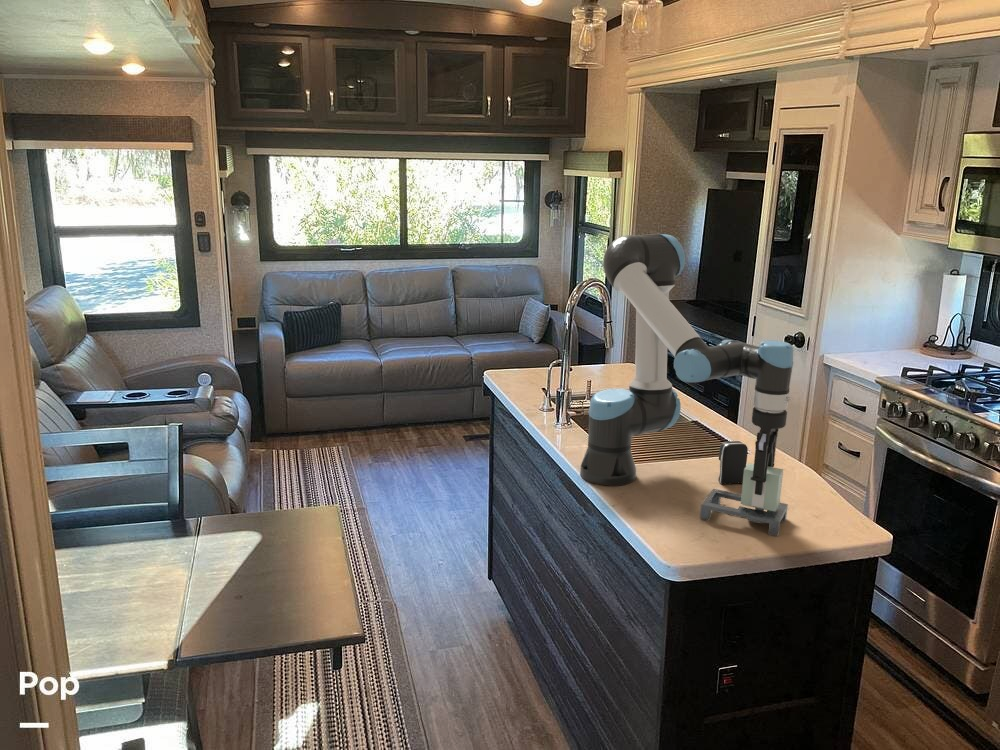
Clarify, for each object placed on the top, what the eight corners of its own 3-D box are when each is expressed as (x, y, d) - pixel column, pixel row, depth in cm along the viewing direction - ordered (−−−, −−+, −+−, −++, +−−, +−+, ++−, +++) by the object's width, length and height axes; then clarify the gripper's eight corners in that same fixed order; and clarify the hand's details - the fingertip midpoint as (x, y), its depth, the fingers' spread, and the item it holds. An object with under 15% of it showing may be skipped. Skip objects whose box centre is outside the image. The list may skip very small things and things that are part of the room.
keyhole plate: (699, 518, 189) (701, 504, 188) (712, 502, 199) (713, 488, 198) (777, 536, 181) (779, 521, 180) (786, 518, 190) (787, 504, 189)
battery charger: (738, 478, 214) (742, 439, 211) (745, 484, 211) (749, 443, 208) (714, 479, 213) (718, 440, 210) (720, 485, 210) (724, 445, 207)
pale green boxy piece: (738, 518, 187) (743, 469, 184) (744, 510, 192) (749, 462, 189) (773, 526, 184) (778, 476, 180) (778, 517, 188) (783, 468, 185)
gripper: (779, 421, 171) (768, 519, 177) (794, 401, 186) (784, 492, 192) (744, 415, 175) (735, 512, 181) (761, 396, 190) (752, 486, 196)
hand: (760, 501), depth 187 cm, fingers closed on pale green boxy piece, 5 cm apart
